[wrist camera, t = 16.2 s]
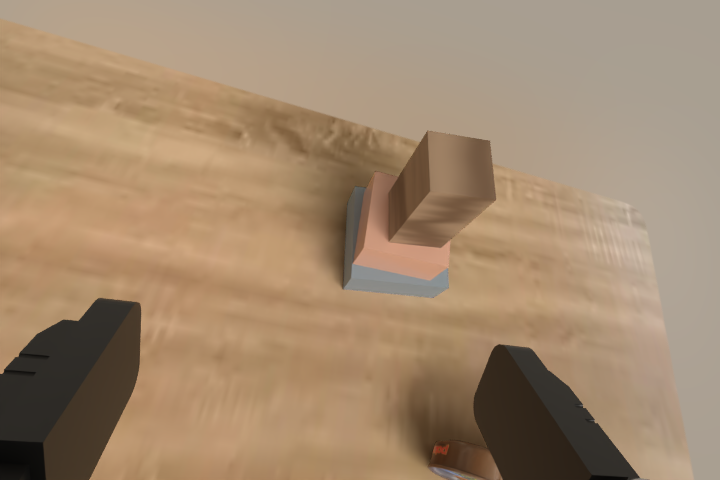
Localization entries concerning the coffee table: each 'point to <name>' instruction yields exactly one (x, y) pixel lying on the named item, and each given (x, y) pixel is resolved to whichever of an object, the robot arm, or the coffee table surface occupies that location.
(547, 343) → the coffee table surface
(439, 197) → the pillar
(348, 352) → the coffee table surface
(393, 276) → the tower base
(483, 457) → the tin
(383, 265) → the tower cap
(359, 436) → the coffee table surface
